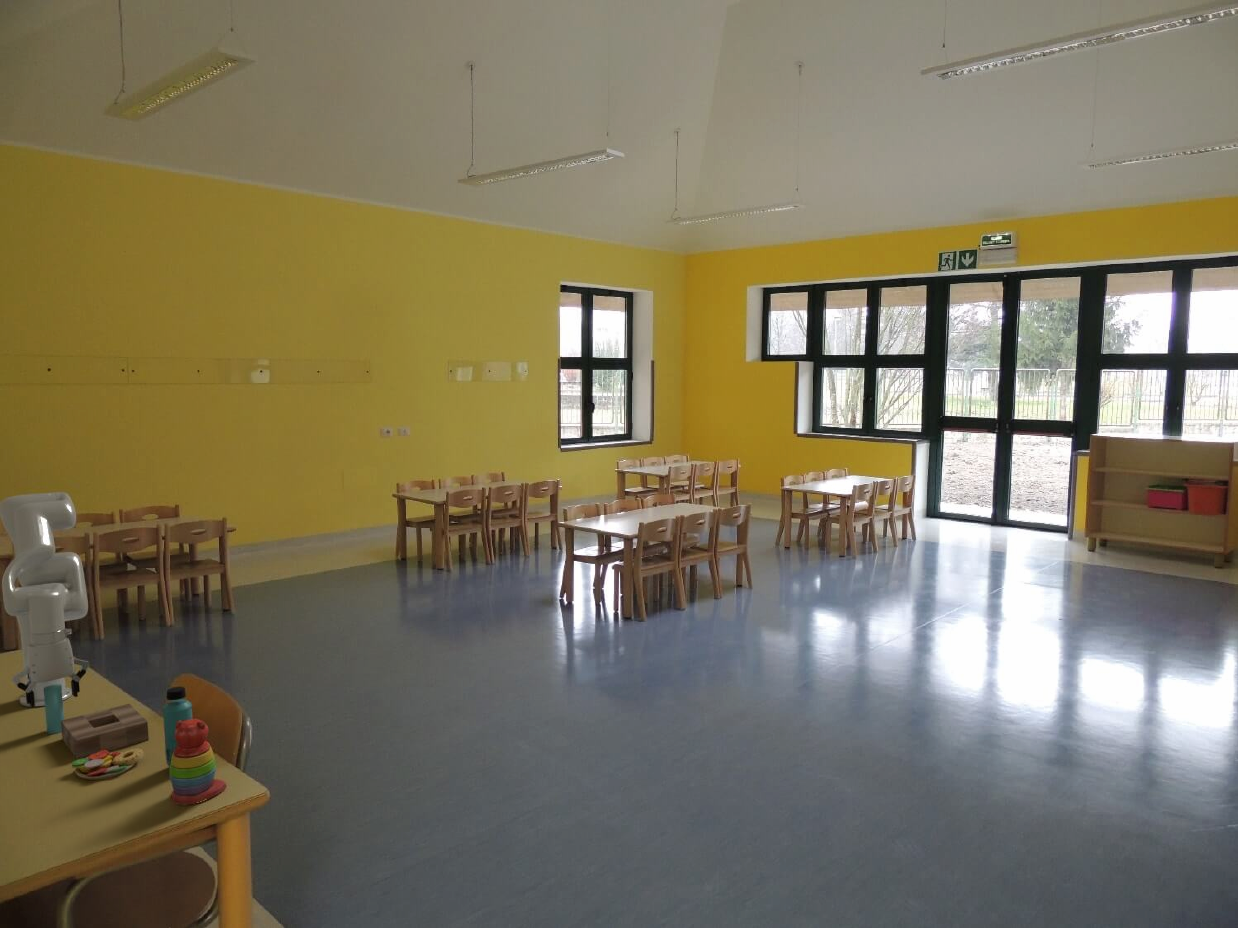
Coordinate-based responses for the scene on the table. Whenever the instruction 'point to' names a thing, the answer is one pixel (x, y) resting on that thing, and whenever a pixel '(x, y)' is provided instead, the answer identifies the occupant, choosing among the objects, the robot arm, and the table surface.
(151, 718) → the table surface
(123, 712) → the socket block
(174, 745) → the beverage bottle
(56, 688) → the peg
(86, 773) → the toy food set
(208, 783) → the stacking bear
